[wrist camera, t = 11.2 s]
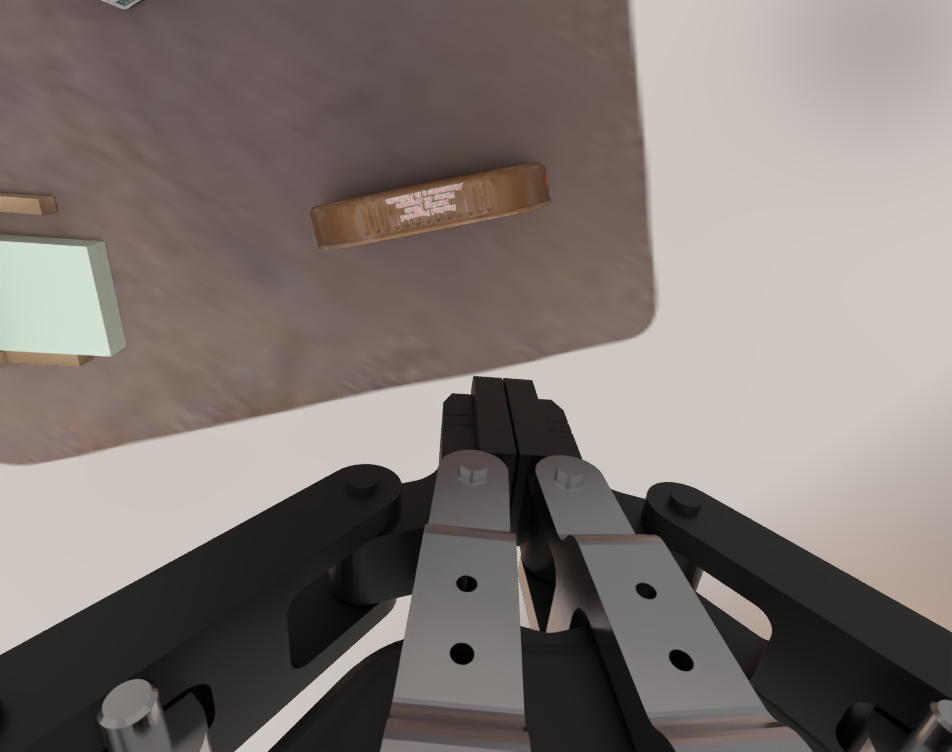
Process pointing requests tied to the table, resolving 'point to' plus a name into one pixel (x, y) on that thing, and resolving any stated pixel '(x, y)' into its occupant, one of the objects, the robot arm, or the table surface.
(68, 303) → the panel
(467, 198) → the tin
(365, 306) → the table surface
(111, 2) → the syrup box
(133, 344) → the table surface
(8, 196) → the beige forked block
